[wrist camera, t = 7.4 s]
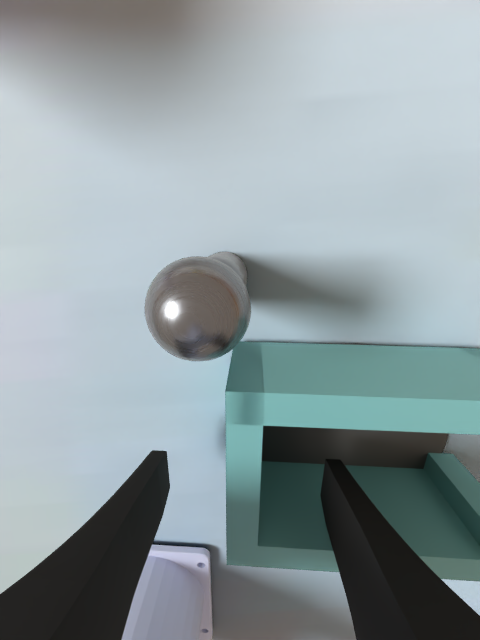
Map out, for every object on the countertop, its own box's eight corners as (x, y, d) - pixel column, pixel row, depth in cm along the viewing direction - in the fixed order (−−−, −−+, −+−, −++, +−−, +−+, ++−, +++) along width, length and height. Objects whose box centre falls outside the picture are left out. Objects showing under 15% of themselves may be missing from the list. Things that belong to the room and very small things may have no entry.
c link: (441, 487, 14) (513, 583, 10) (233, 477, 14) (226, 564, 10) (487, 348, 11) (605, 405, 8) (234, 341, 12) (225, 391, 8)
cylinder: (251, 302, 12) (248, 384, 5) (197, 301, 12) (132, 379, 5) (252, 247, 11) (252, 262, 5) (195, 246, 11) (116, 260, 5)
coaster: (418, 508, 15) (423, 516, 14) (242, 499, 15) (242, 505, 15) (468, 346, 12) (474, 350, 11) (246, 340, 12) (245, 343, 12)
